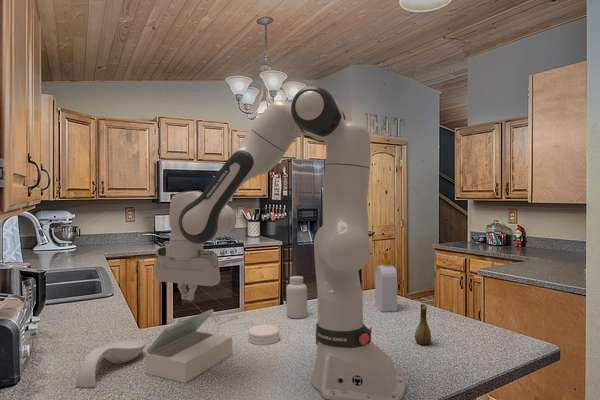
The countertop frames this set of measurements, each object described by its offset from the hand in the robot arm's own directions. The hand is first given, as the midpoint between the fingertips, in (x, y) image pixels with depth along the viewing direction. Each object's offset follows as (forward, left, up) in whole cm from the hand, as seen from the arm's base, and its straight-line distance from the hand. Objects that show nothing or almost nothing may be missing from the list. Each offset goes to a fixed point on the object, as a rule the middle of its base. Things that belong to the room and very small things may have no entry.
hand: (187, 299), depth 108 cm
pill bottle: (-9, -51, -18) cm, 55 cm away
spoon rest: (+17, +11, -18) cm, 27 cm away
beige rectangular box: (0, 0, -17) cm, 17 cm away
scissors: (+13, -31, -18) cm, 38 cm away
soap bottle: (-38, -74, -18) cm, 85 cm away
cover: (+2, 0, -9) cm, 9 cm away
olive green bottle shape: (-57, -41, -18) cm, 73 cm away
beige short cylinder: (-10, -24, -18) cm, 32 cm away
